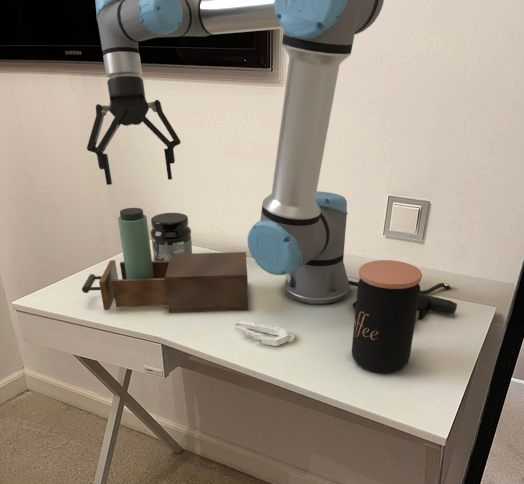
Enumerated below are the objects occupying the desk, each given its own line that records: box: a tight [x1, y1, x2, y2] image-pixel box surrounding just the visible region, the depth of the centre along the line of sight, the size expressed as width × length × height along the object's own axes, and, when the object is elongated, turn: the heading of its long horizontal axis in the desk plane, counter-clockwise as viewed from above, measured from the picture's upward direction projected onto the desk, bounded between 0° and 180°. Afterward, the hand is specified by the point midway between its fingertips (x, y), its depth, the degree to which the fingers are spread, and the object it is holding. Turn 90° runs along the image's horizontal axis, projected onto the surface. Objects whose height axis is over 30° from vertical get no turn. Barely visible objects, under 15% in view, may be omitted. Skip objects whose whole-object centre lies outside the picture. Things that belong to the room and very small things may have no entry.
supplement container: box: [149, 212, 193, 261], centre depth 142 cm, size 10×10×12 cm
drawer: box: [81, 259, 169, 311], centre depth 122 cm, size 21×12×7 cm, turn 93°
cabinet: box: [165, 251, 249, 314], centre depth 123 cm, size 18×14×9 cm
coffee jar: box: [351, 259, 423, 375], centre depth 97 cm, size 11×11×18 cm
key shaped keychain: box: [233, 320, 295, 347], centre depth 109 cm, size 13×5×2 cm, turn 69°
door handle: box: [352, 293, 458, 323], centre depth 117 cm, size 3×20×16 cm
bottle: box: [117, 207, 154, 279], centre depth 119 cm, size 6×6×19 cm
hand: (139, 182), depth 121 cm, fingers open, 13 cm apart
